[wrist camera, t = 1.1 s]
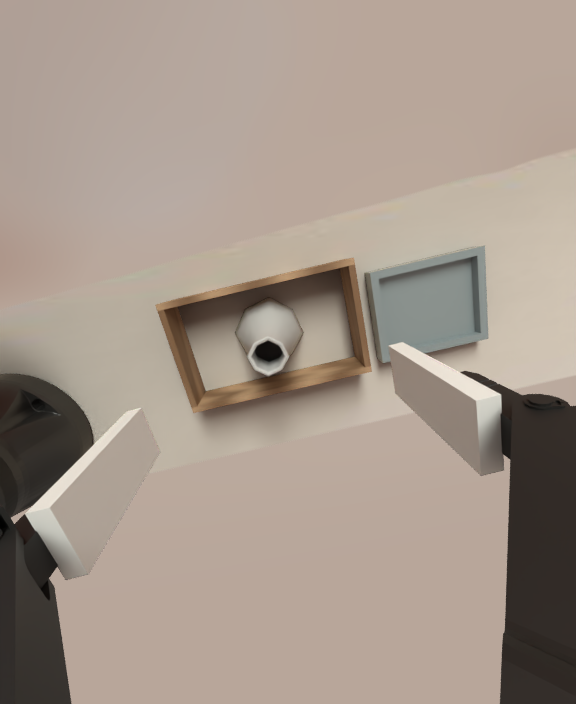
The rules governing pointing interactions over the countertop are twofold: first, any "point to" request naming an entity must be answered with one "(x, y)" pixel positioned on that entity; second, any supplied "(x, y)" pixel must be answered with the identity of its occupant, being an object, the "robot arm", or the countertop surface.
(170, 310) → the caddy
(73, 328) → the countertop surface
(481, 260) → the tray
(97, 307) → the countertop surface
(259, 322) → the flask
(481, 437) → the robot arm
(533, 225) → the countertop surface
